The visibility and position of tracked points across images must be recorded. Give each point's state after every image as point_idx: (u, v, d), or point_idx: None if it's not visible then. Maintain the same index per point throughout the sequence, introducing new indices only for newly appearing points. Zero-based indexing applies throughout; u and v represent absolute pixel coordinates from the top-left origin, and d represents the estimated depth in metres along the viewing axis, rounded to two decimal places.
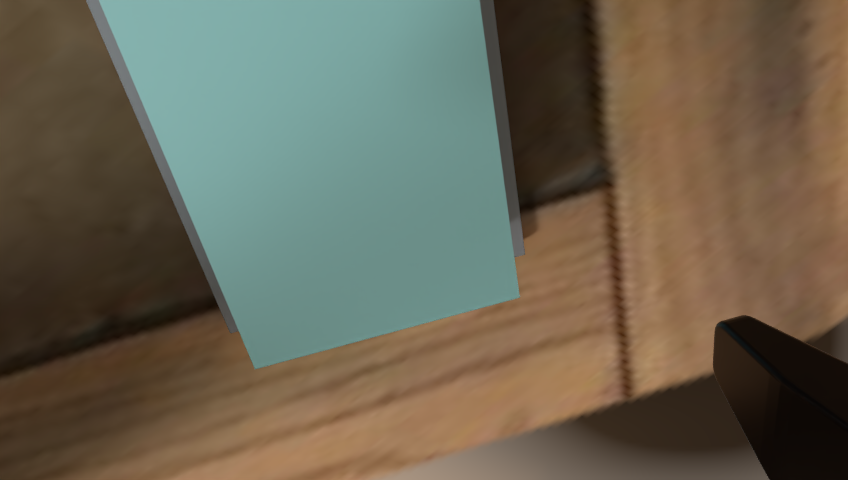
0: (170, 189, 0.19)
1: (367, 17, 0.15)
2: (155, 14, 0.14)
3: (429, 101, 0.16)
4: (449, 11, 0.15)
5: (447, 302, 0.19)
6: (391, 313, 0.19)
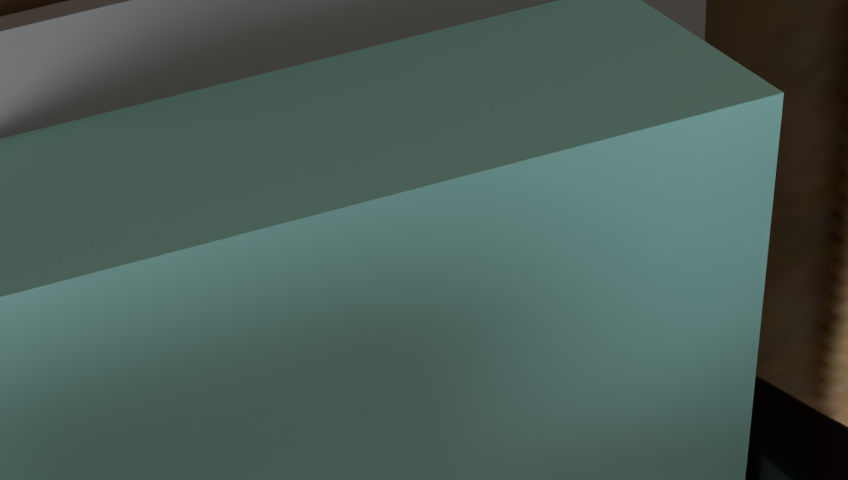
0: None
1: (516, 366, 0.07)
2: (14, 408, 0.06)
3: None
4: (693, 338, 0.07)
5: None
6: None
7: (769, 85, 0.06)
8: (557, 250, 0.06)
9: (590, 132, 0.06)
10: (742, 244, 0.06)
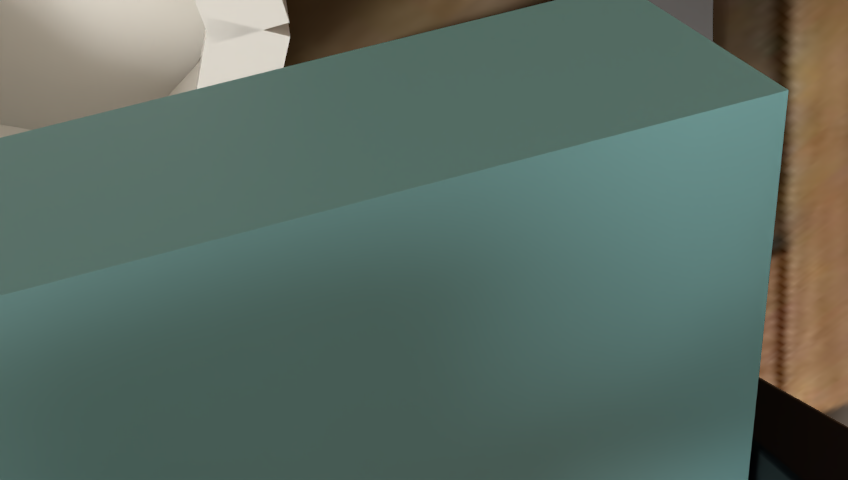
0: None
1: (521, 363, 0.07)
2: (18, 406, 0.06)
3: None
4: (697, 336, 0.07)
5: None
6: None
7: (773, 83, 0.06)
8: (561, 248, 0.06)
9: (594, 130, 0.06)
10: (746, 242, 0.06)
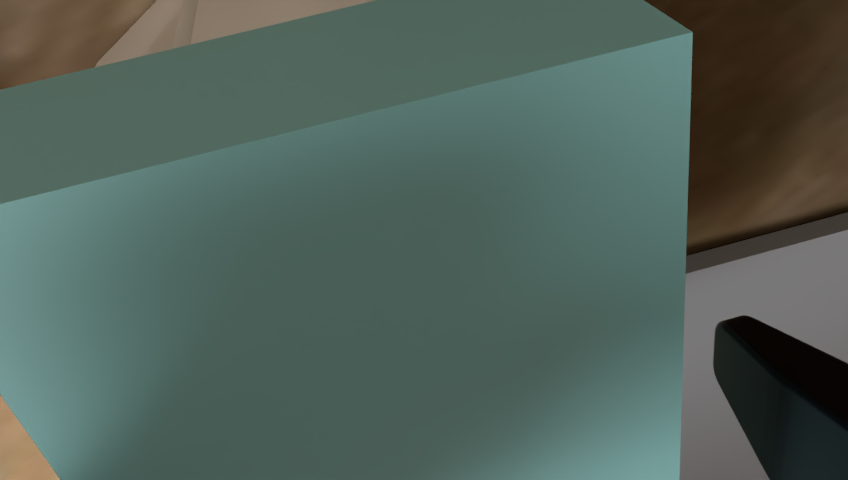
0: None
1: (473, 274, 0.08)
2: (45, 296, 0.07)
3: (570, 392, 0.09)
4: (628, 254, 0.08)
5: None
6: None
7: (682, 27, 0.07)
8: (505, 167, 0.07)
9: (529, 66, 0.07)
10: (665, 167, 0.07)
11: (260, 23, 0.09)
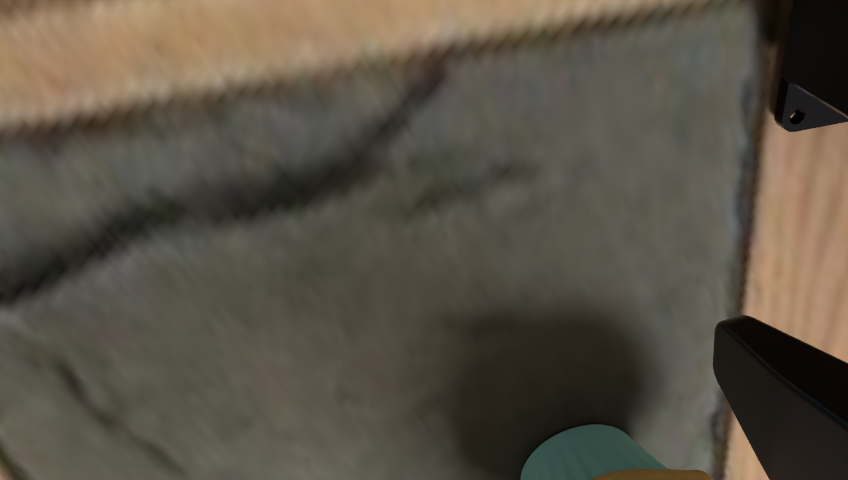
0: None
1: None
2: None
3: None
4: None
5: None
6: None
7: None
8: None
9: None
10: None
11: None
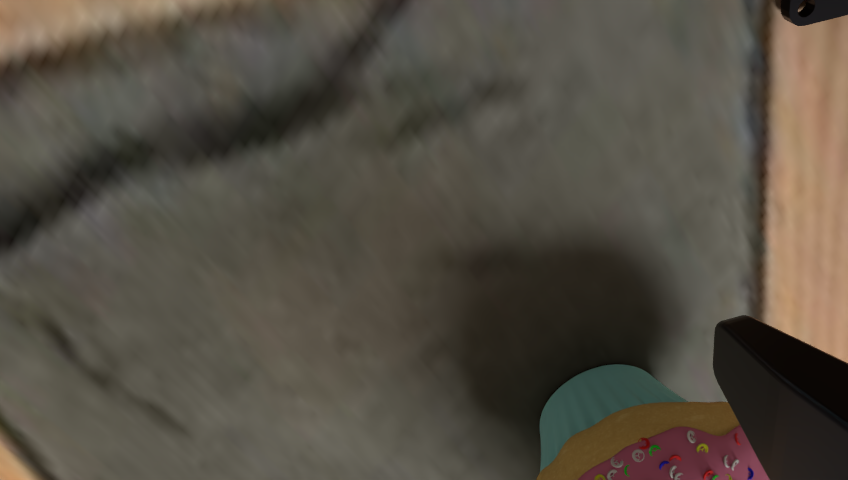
0: None
1: None
2: None
3: None
4: None
5: None
6: None
7: None
8: None
9: None
10: None
11: None
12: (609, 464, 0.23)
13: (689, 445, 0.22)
